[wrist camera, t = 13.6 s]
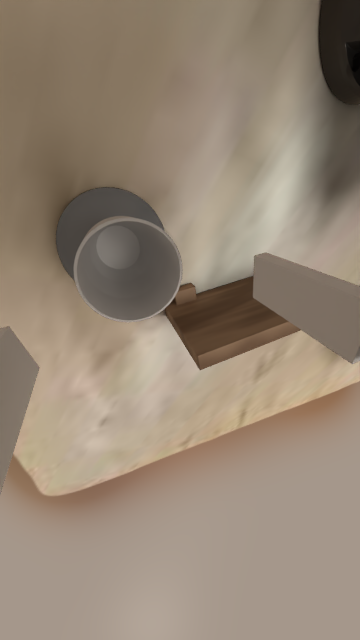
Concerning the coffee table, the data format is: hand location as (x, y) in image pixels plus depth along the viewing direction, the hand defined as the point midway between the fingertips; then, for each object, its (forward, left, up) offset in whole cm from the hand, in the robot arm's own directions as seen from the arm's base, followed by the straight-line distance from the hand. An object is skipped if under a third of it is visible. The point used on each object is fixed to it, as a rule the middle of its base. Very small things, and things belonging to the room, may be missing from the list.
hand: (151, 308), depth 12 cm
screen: (+10, +14, -16) cm, 24 cm away
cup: (0, 0, -16) cm, 16 cm away
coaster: (0, 0, -16) cm, 16 cm away
